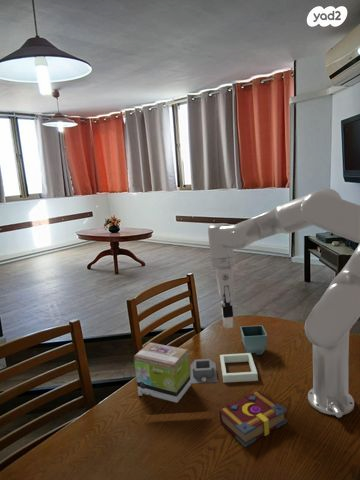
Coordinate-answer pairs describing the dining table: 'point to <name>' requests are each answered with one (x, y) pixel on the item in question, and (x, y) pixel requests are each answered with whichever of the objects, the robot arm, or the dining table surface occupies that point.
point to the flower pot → (254, 339)
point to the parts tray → (242, 375)
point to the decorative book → (252, 417)
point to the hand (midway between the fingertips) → (227, 314)
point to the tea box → (162, 371)
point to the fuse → (227, 319)
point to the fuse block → (203, 371)
